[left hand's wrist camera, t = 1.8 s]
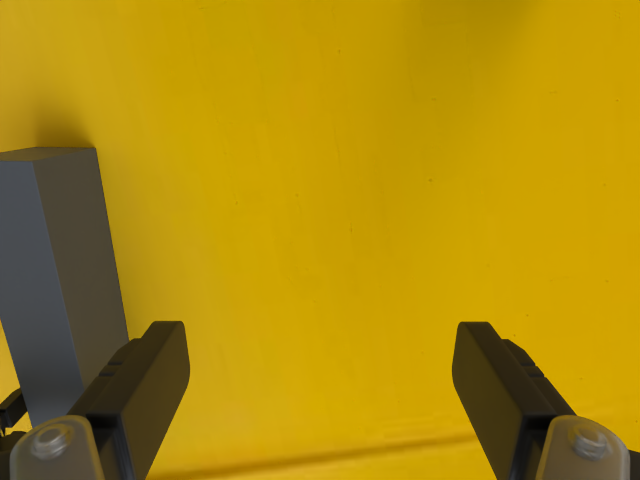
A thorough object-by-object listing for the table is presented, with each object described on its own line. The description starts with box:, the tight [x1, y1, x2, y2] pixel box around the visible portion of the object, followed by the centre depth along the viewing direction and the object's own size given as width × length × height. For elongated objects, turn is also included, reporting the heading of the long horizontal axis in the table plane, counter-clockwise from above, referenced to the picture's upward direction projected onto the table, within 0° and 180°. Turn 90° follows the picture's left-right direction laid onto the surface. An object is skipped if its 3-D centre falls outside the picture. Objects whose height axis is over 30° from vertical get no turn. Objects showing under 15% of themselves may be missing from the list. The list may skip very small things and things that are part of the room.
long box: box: [0, 147, 129, 428], centre depth 38 cm, size 27×6×9 cm, turn 179°
